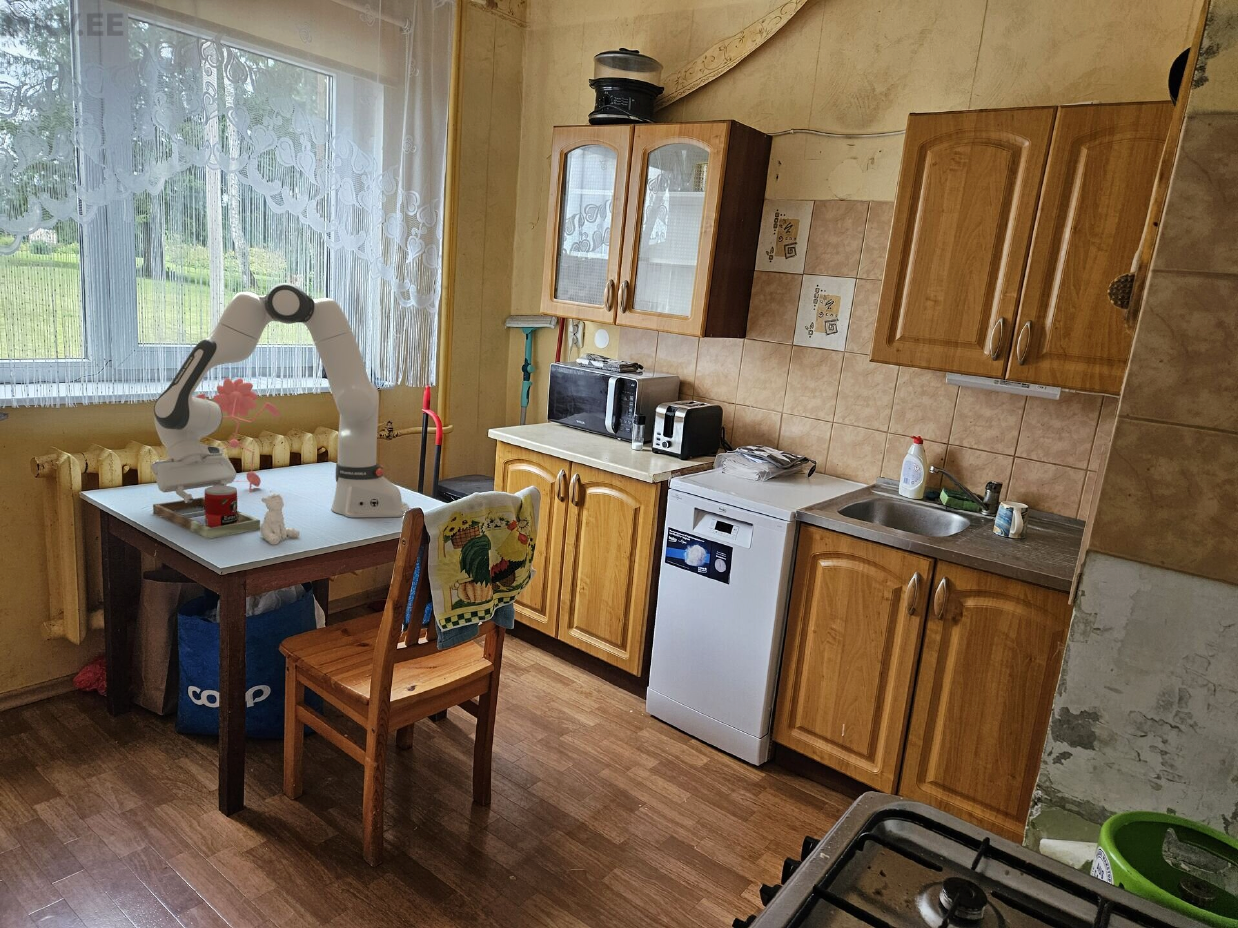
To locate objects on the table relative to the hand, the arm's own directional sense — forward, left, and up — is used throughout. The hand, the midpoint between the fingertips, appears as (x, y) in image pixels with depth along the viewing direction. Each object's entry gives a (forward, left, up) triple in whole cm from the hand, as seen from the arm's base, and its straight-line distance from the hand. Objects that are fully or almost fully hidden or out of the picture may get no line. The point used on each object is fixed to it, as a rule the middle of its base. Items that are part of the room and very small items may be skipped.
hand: (207, 498), depth 222 cm
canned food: (-5, +6, -7) cm, 10 cm away
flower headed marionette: (+4, -39, -7) cm, 40 cm away
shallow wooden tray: (+1, -1, -6) cm, 7 cm away
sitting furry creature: (-21, +13, -7) cm, 25 cm away
